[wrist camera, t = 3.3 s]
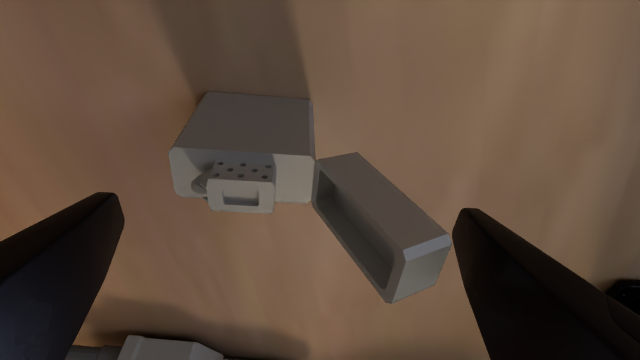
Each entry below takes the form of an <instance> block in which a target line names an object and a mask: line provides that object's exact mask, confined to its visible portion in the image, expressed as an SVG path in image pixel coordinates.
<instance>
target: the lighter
mask: <svg viewBox="0 0 640 360" xmlns="http://www.w3.org/2000/svg"><path fill="white" fill-rule="evenodd" d="M168 155H169V161H170V167H171V173H172V179H173V184H174V190H175V193H177V194H178V195H180V196H181V197H193V198H203V199H204V200H205V201H206V202H207V203H208V204H209V206H210V209H211V211H229V212H249V213H268V214H271V213H272V212H273V211H274V202H285V203H303V204H306V203H307V202H309V201H310V200H311V202H312V206H313V208H314V209H315V211H316V212H317V213H318V214H319V216H320V217H321V218H322V220H323V221H324V222H325V224H326V225H327V226H328V228H329V229H330V230H331V231H332V233H333V234H334V235H335V237H336V238H337V239H338V241H339V242H340V243H341V245H342V246H343V247H344V249H345V250H346V251H347V252H348V254H349V255H350V256H351V258H352V259H353V260H354V262H355V263H356V264H357V266H358V267H359V268H360V269H361V271H362V272H363V273H364V275H365V276H366V277H367V279H368V280H369V281H370V283H371V284H372V285H373V286H374V288H375V289H376V290H377V292H378V293H379V294H380V296H381V297H382V298H383V300H384V301H385V302H386V303H391V304H392V303H395V302H397V301H399V300H401V299H404V298H406V297H408V296H411V295H413V294H415V293H417V292H420V291H422V290H424V289H427V288H429V287H431V286H434V285H435V283H436V280H437V278H438V276H439V273H440V271H441V269H442V266H443V264H444V262H445V259H446V257H447V255H448V252H449V250H450V248H451V245H452V243H451V240H450V237H449V233H447V232H446V231H445V230H444V229H443V228H442V227H441V226H440V225H438V224H437V223H436V222H435V221H434V220H433V219H432V218H431V217H429V216H428V215H427V214H426V213H425V212H424V211H423V210H422V209H420V208H419V207H418V206H417V205H416V204H415V203H414V202H413V201H411V200H410V199H409V198H408V197H407V196H406V195H405V194H404V193H402V192H401V191H400V190H399V189H398V188H397V187H396V186H395V185H394V184H392V183H391V182H390V181H389V180H388V179H387V178H386V177H385V176H383V175H382V174H381V173H380V172H379V171H378V170H377V169H376V168H374V167H373V166H372V165H371V164H370V163H369V162H368V161H367V160H365V159H364V158H363V157H362V156H361V155H360V154H359V153H358V152H355V153H350V154H344V155H339V156H334V157H329V158H323V159H318V160H317V161H316V160H315V139H314V118H313V104H312V102H311V101H310V100H309V99H298V98H285V97H273V96H260V95H247V94H235V93H222V92H209V91H208V92H207V93H206V94H205V95H204V96H203V98H202V100H201V101H200V103H199V104H198V106H197V107H196V109H195V111H194V112H193V114H192V115H191V117H190V118H189V120H188V122H187V123H186V125H185V126H184V128H183V129H182V131H181V133H180V134H179V136H178V137H177V139H176V140H175V142H174V144H173V145H172V147H171V148H170V150H169V151H168Z"/></svg>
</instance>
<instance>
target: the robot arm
mask: <svg viewBox="0 0 640 360" xmlns="http://www.w3.org/2000/svg"><path fill="white" fill-rule="evenodd" d="M124 222H125V220H124V215H123V212H122V208H121V205H120V202H119V199H118V196H117V195H116V194H115V193H110V192H97V193H95V194H93V195H91V196H89V197H87V198H85V199H83V200H81V201H79V202H77V203H75V204H73V205H71V206H69V207H67V208H65V209H63V210H61V211H59V212H57V213H56V214H54V215H52V216H50V217H48V218H46V219H44V220H42V221H40V222H38V223H36V224H34V225H32V226H30V227H28V228H26V229H24V230H22V231H20V232H18V233H16V234H14V235H12V236H10V237H8V238H7V239H5V240H3V241H1V242H0V360H65V358H66V356H67V354H68V352H69V350H70V348H71V346H72V344H73V342H74V340H75V338H76V336H77V334H78V332H79V330H80V328H81V326H82V324H83V322H84V320H85V318H86V316H87V314H88V312H89V310H90V308H91V306H92V304H93V302H94V300H95V298H96V296H97V294H98V292H99V290H100V288H101V286H102V284H103V281H104V279H105V277H106V274H107V272H108V269H109V266H110V264H111V261H112V258H113V255H114V253H115V250H116V247H117V244H118V241H119V239H120V236H121V233H122V230H123V227H124ZM452 239H453V244H454V248H455V252H456V256H457V260H458V264H459V268H460V272H461V276H462V280H463V284H464V288H465V291H466V294H467V297H468V299H469V302H470V305H471V307H472V310H473V313H474V316H475V318H476V321H477V324H478V326H479V329H480V332H481V335H482V337H483V340H484V343H485V345H486V348H487V351H488V354H489V356H490V359H491V360H640V281H622V282H619V283H617V284H615V285H614V286H613V287H612V288H611V290H610V291H609V292H608V293H607V294H606V296H605V293H604V292H602V291H601V290H599V289H598V288H596V287H595V286H593V285H592V284H590V283H589V282H587V281H586V280H584V279H583V278H581V277H580V276H578V275H577V274H575V273H574V272H572V271H571V270H569V269H568V268H566V267H565V266H564V265H562V264H561V263H559V262H558V261H556V260H555V259H553V258H552V257H550V256H549V255H547V254H546V253H544V252H543V251H541V250H540V249H538V248H537V247H535V246H534V245H532V244H531V243H529V242H528V241H526V240H525V239H523V238H522V237H520V236H519V235H517V234H516V233H514V232H513V231H511V230H510V229H508V228H507V227H505V226H504V225H502V224H501V223H499V222H498V221H496V220H495V219H493V218H492V217H490V216H489V215H487V214H486V213H484V212H483V211H481V210H480V209H477V208H463V209H462V210H461V211H460V213H459V215H458V218H457V220H456V223H455V225H454V228H453V231H452Z"/></svg>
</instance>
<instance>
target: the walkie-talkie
mask: <svg viewBox="0 0 640 360" xmlns="http://www.w3.org/2000/svg"><path fill="white" fill-rule="evenodd" d="M65 360H250V359H238V358H225V357H223V355H222V354H220V353H218V352H216V351H214V350H212V349H210V348H208V347H206V346H204V345H202V344H200V343H198V342H189V341H177V340H165V339H153V338H145V337H143V336H138V335H128V336H127V339H126V341H125V343H124V345H123V346H112V345H105V346H103V347H90V346H77V345H72V346H71V348H70V350H69V352H68V354H67V356H66V358H65Z"/></svg>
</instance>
